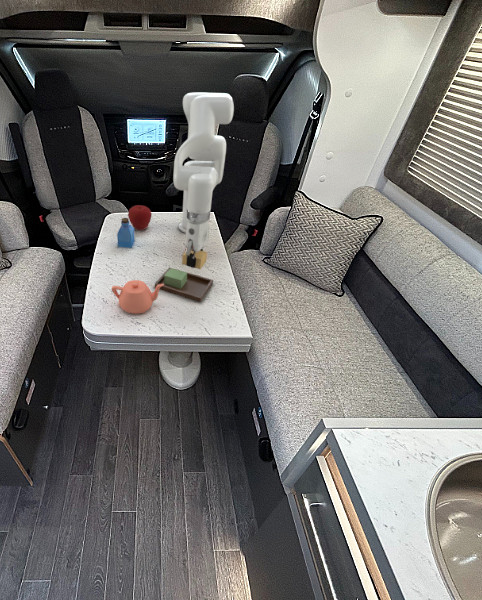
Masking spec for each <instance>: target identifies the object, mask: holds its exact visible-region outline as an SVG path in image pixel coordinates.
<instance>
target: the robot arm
mask: <svg viewBox="0 0 482 600" xmlns="http://www.w3.org/2000/svg"><path fill="white" fill-rule="evenodd" d="M182 108H183V112H184V115H185V118H186V120H187V124H188V129H187V131H188V132H187V139H186V140H185V141H183V143H182V144H181V145H180V146H179V148H178V150H177V151H176V154H175V157H174V161H173V162H174V163H173V175H172V176H173V177H172V179H173V180H172V181H173V185H174V187H175V189H176V190H179V191H183V197H182V198H183V199H182V216H181V217H182V218H181V221H180V223H179V224H178V229H179V231H181V232H182V233H184V234H185V240H184V241H185V242H184V247H185V251H186V252H185V251H184V252H185V254H186V255H187V262H186V265H185V266H186V267H189V268H192V269H196V268H195V264H196V257H195V255H196V252H198V251H200V250H201V251H204V249H203V248H204V246H205V245H207V243H208V240H209V234H210V233H209V231H210V230H209V229H210V219H211V209H212V202H213V201H212V198H213V191H214V189H215V188H216V187H217V185H219V184H221V182H222V180H223V176H224V169H225V163H226V162H225V161H226V154H227V140H226V139H225V137H224V136H222V135H216V134H215V132H216V130H215V129H216V125H228V124H230V123H231V122H232V120H233V117H234V112H235V105H234V100H233V97H232V96H231V95H230V94H229V93H225V92H200V91H199V92H198V91H197V92H188V93H186V94H185V95H184V96H183V98H182ZM188 158H189V159H191V160H189V161H187V162H185V160H186V159H188ZM184 162H185V163H184ZM183 163H184V165H183ZM192 247H193V248H194V249H193V248H192ZM191 251H194V252H193V254H192V253H191Z"/></svg>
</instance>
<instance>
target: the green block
mask: <svg viewBox="0 0 482 600" xmlns="http://www.w3.org/2000/svg"><path fill="white" fill-rule="evenodd" d="M172 268H173V267H170V269H169V271H168V272H167V273H166V274H165V275H164V284H166V285H169V286H173V287H176V288H179V289H181V288H182V287H183V285H184V284H185V283H186V282H187V273H188V272H187V271H184V272H183V270H180V269H177V268H173V269H172ZM176 269H177V270H176ZM179 270H180V271H179ZM186 272H187V273H186Z"/></svg>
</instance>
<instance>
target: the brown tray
mask: <svg viewBox="0 0 482 600" xmlns="http://www.w3.org/2000/svg"><path fill="white" fill-rule="evenodd" d="M170 268H172V269H174V268H173V267H170V266H169V267H168V268H167V269H166V271H164V273H162V275H161V276H160V277H159V278H158V279H157V280H156V282H155V283H154V289H155V288H156V286H157V285H159V284H164V275H165V274H166V273H167V272H168V271H169V269H170ZM175 269H176V270H179V271H181V270H180V269H177V268H175ZM182 271H183V270H182ZM183 272H186V273H187V282H186V283H185V284H184V285H183V287H182V288H181V289H179V288H176V287H173V286H169V285H166V284H164V285H163V286H162V287H160V289H159V291H163V292H166V293H169V294H172V295H176V296H178V297H182V298H185V299H188V300H191V301H195V302H197V303H202V302H203V299H204V298H205V297H206V295H207V293H208V292H209V291H210V289H211V288H212V286H213V285H214V279H211V278H207V277H204V276H200V275H197V274H195V273H191V272H188V271H183Z"/></svg>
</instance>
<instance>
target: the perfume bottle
mask: <svg viewBox="0 0 482 600" xmlns="http://www.w3.org/2000/svg"><path fill="white" fill-rule="evenodd" d="M120 224H121V225H120V227H119V229H118V231H117V234H116V237H117V247H118V248H127V249H132V248H133V246H134V243H135V241H136V239H135V238H136V237H135V228H134V227H133V226H132V224H130V220H129V217H121V220H120Z"/></svg>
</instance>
